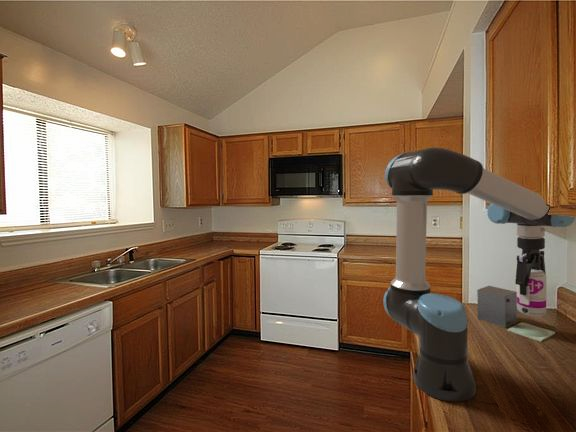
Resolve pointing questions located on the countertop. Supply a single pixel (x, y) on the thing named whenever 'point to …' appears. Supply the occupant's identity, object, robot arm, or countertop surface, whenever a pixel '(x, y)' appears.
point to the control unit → (497, 305)
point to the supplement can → (534, 295)
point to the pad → (531, 331)
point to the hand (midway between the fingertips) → (531, 300)
